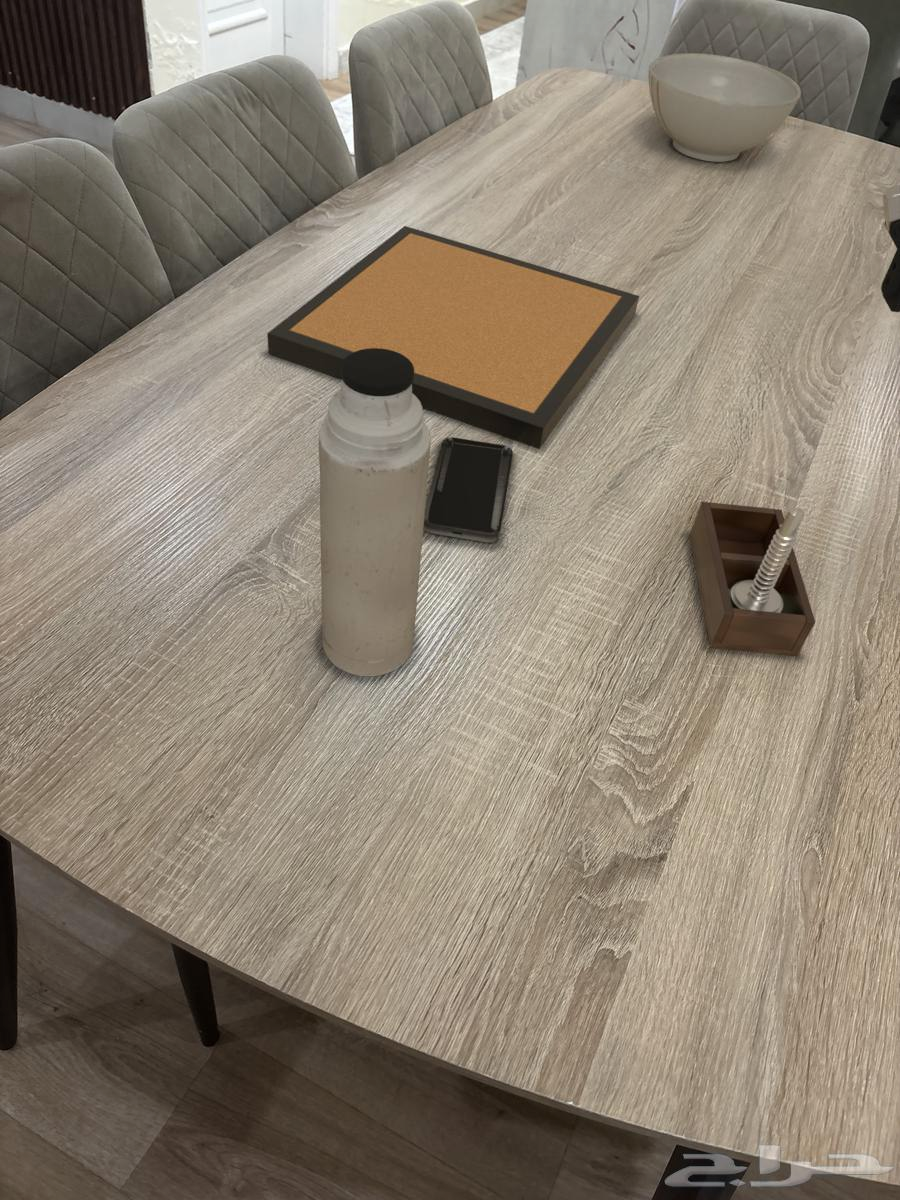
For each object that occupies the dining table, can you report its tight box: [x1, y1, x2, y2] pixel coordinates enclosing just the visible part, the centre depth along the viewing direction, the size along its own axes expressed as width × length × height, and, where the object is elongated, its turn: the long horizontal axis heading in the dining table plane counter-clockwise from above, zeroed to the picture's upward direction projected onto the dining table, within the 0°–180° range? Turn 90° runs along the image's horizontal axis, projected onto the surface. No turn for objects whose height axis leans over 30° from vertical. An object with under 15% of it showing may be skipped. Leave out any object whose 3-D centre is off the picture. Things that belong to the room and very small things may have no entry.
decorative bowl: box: [648, 52, 802, 163], centre depth 170 cm, size 27×27×12 cm
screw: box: [730, 507, 805, 613], centre depth 83 cm, size 13×5×5 cm
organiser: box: [689, 501, 816, 657], centre depth 90 cm, size 8×15×5 cm, turn 177°
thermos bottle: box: [318, 348, 432, 677], centre depth 73 cm, size 8×8×28 cm
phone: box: [423, 436, 514, 544], centre depth 98 cm, size 8×1×15 cm
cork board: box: [266, 225, 640, 450], centre depth 120 cm, size 36×3×35 cm
